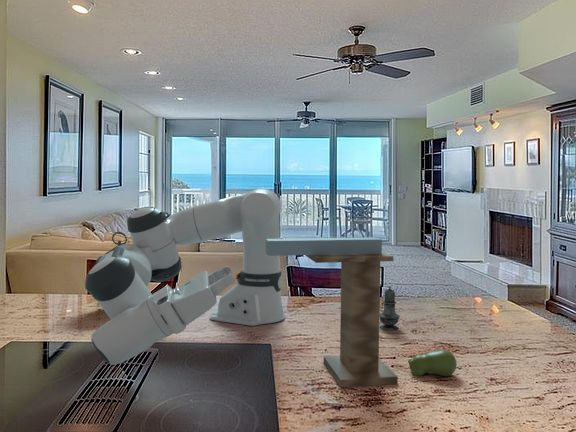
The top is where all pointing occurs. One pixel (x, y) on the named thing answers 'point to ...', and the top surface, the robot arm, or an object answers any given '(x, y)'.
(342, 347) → the shelf stand
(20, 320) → the top surface
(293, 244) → the batten
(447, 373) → the pear
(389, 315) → the dark chess piece
